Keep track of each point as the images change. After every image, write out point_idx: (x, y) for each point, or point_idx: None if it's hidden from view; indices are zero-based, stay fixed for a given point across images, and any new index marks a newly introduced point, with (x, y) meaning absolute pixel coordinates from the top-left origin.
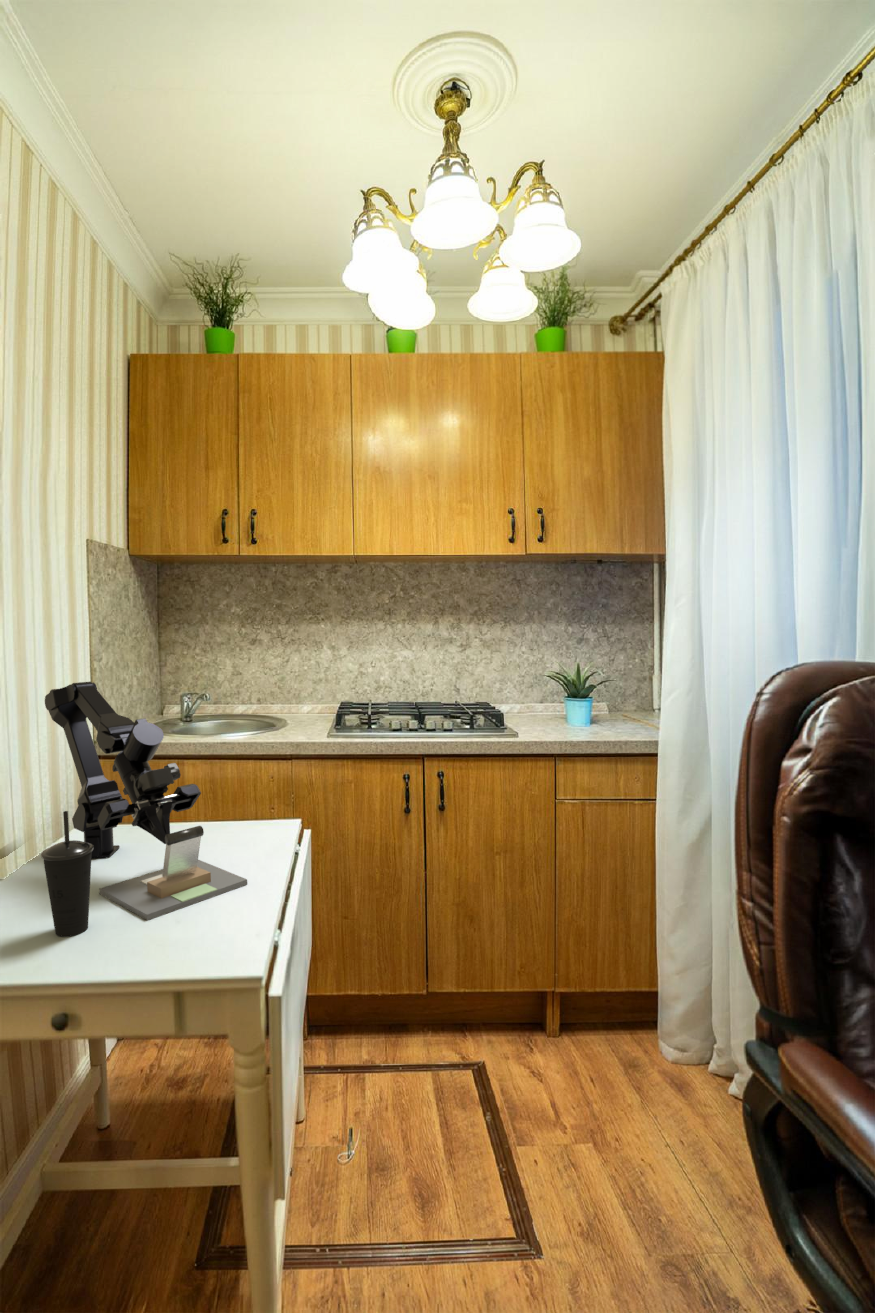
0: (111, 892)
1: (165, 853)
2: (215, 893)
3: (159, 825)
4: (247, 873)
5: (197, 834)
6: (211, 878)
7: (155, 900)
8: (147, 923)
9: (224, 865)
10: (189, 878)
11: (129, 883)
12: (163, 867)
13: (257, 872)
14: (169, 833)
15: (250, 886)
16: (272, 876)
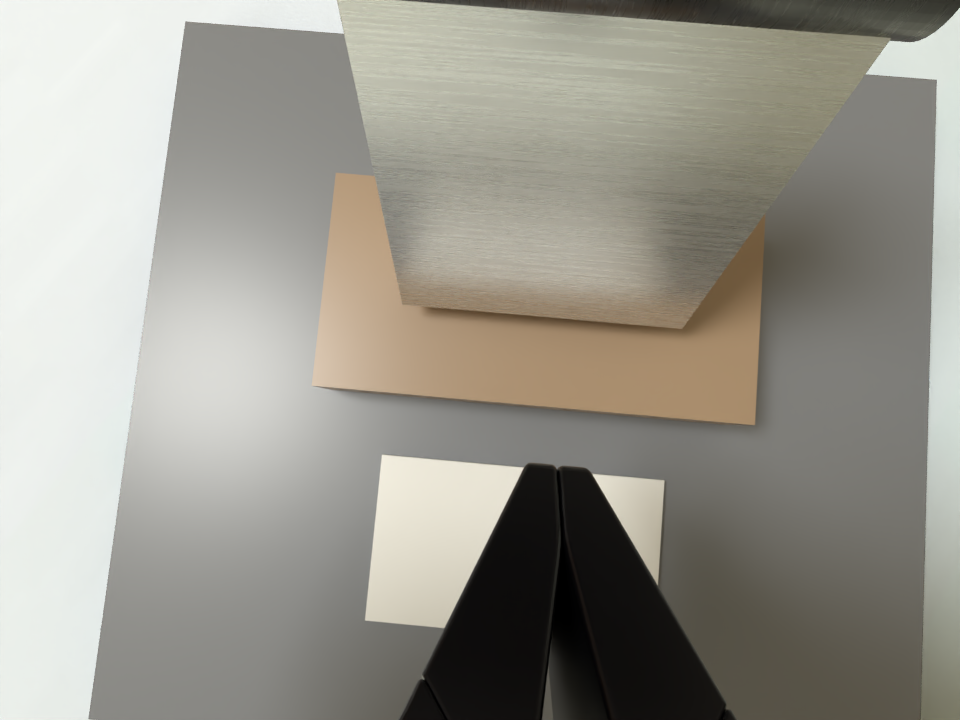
0: (896, 641)
1: (782, 180)
2: None
3: (663, 704)
4: (57, 203)
5: None
6: (309, 245)
7: (779, 233)
8: (930, 65)
9: (28, 476)
10: None
11: (723, 689)
12: (712, 284)
13: (8, 159)
14: (504, 531)
15: (211, 6)
16: (10, 19)
